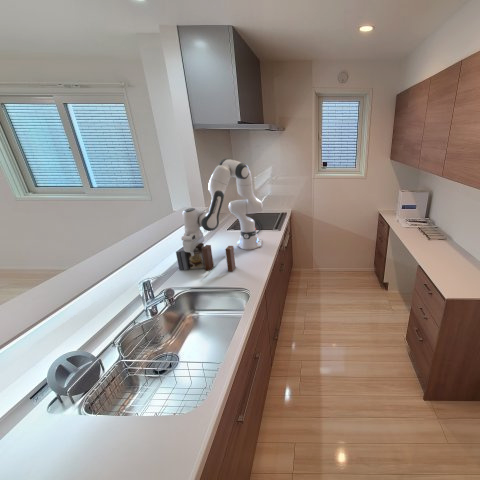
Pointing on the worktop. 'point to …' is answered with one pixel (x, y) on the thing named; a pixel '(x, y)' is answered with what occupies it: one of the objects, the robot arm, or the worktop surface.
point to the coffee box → (197, 257)
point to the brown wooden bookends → (209, 259)
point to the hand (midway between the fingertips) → (196, 253)
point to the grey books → (183, 259)
